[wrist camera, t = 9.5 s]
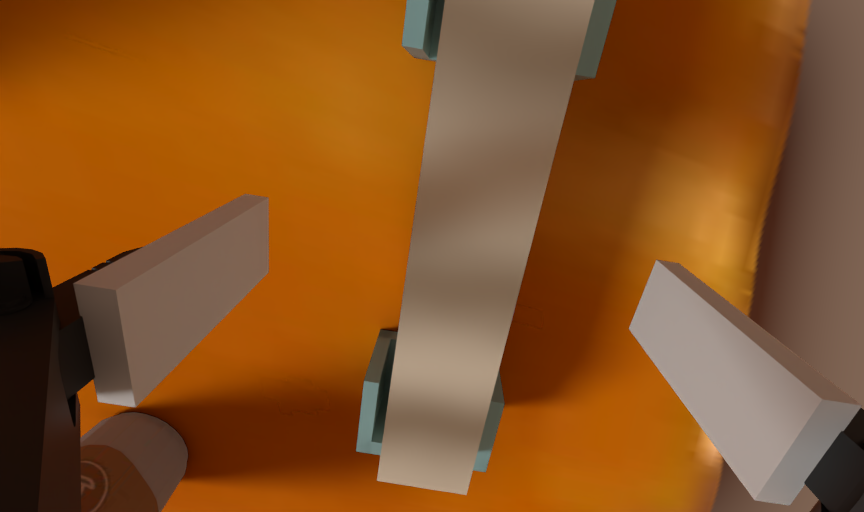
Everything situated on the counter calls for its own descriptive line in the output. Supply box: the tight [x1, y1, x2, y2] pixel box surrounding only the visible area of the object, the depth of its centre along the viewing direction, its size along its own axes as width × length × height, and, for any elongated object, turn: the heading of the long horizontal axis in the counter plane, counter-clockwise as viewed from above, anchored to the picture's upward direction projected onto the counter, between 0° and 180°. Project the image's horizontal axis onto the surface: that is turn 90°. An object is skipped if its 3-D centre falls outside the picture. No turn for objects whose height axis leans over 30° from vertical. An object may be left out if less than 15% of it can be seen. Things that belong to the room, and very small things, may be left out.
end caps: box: [356, 0, 617, 472], centre depth 18 cm, size 23×7×4 cm, turn 171°
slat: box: [377, 0, 595, 495], centre depth 17 cm, size 20×4×6 cm, turn 171°
